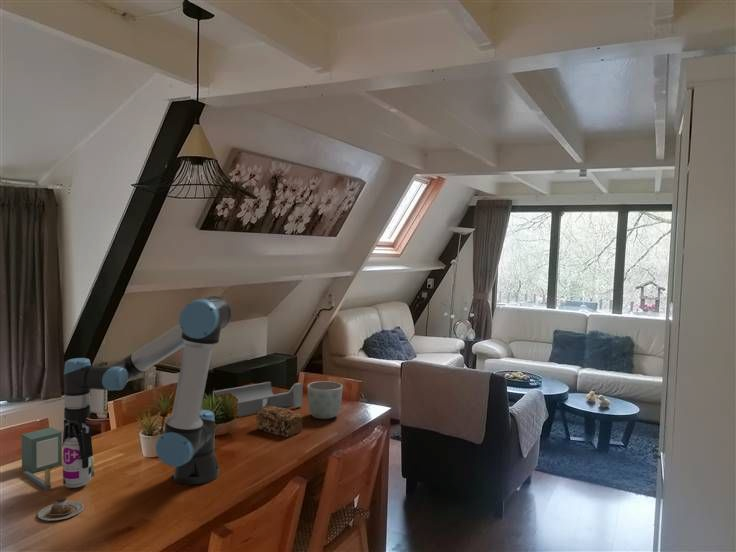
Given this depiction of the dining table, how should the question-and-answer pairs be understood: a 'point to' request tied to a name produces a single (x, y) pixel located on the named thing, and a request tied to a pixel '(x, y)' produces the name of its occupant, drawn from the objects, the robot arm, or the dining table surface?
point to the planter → (324, 399)
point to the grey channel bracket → (263, 397)
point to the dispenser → (43, 454)
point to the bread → (279, 421)
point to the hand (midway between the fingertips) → (77, 473)
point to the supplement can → (73, 464)
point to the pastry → (60, 509)
